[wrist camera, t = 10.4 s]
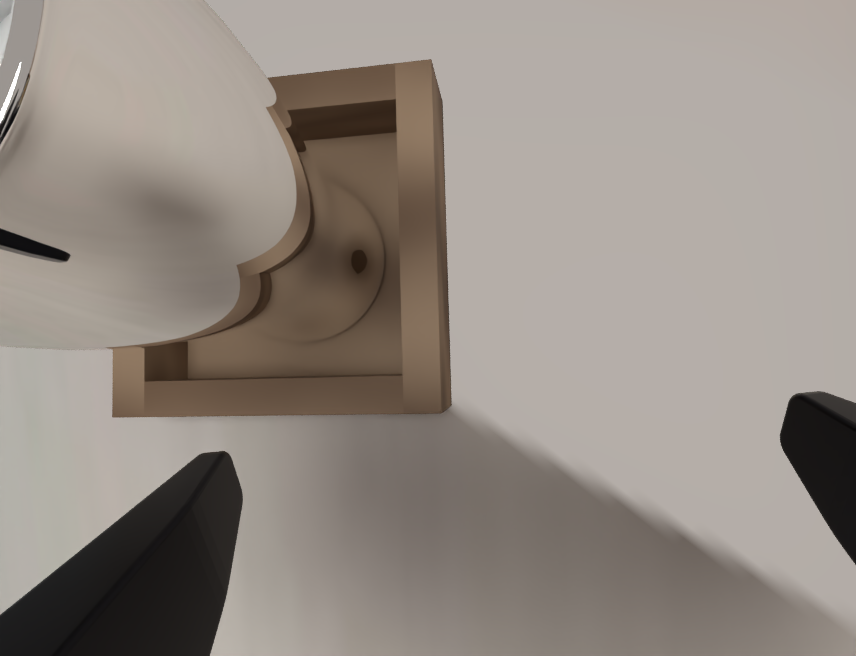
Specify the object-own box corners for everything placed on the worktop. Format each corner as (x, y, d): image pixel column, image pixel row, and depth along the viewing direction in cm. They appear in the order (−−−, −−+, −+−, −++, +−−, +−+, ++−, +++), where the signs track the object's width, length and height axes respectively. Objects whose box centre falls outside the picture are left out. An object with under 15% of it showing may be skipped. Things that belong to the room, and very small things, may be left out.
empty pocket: (451, 405, 20) (441, 413, 17) (166, 409, 21) (112, 417, 18) (442, 101, 20) (431, 59, 17) (166, 129, 22) (115, 94, 19)
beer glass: (321, 134, 20) (-173, -447, 6) (435, 271, 20) (200, 1, 5) (188, 253, 21) (-574, 6, 6) (293, 392, 20) (-317, 489, 5)
